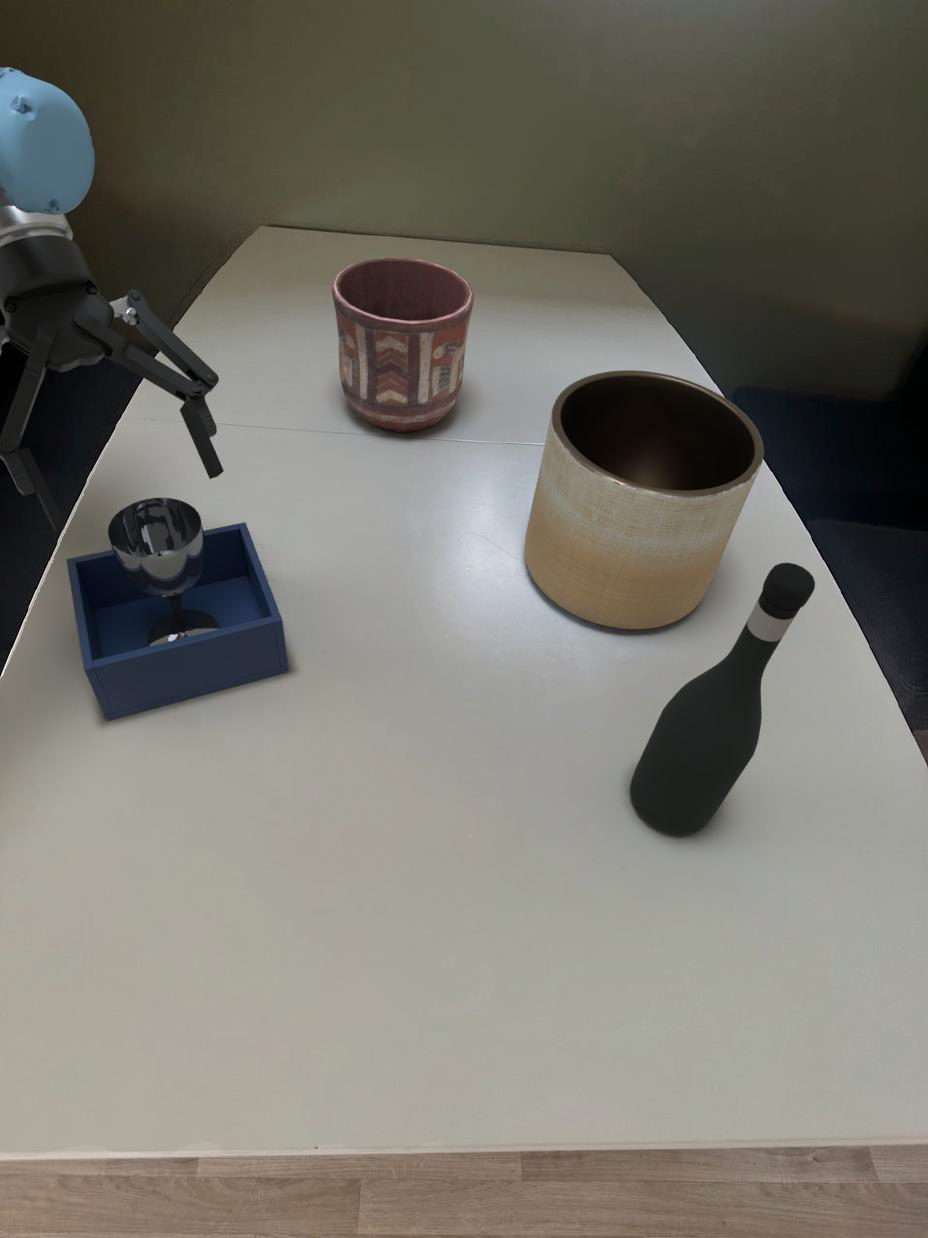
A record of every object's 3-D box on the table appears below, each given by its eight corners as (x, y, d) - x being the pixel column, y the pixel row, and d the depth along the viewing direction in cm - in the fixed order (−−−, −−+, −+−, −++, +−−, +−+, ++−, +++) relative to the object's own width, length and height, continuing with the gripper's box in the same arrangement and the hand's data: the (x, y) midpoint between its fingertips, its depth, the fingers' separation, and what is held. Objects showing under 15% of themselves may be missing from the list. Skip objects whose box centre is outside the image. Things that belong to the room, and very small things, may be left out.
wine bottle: (638, 751, 79) (743, 521, 56) (718, 780, 77) (857, 556, 55) (619, 819, 73) (725, 596, 51) (703, 852, 72) (851, 637, 50)
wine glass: (151, 674, 78) (114, 566, 67) (137, 617, 83) (101, 507, 72) (232, 653, 81) (210, 545, 70) (215, 599, 86) (191, 490, 75)
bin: (106, 721, 76) (83, 669, 70) (87, 613, 84) (65, 558, 78) (288, 671, 81) (282, 619, 76) (253, 575, 90) (245, 521, 84)
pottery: (353, 454, 106) (351, 328, 93) (325, 382, 117) (319, 259, 103) (478, 438, 111) (493, 315, 97) (440, 370, 122) (448, 251, 108)
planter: (743, 598, 94) (813, 460, 79) (594, 664, 86) (641, 523, 71) (627, 489, 106) (669, 351, 91) (487, 537, 97) (508, 393, 83)
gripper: (170, 243, 73) (263, 463, 77) (-139, 303, 62) (-13, 557, 66) (185, 204, 67) (286, 447, 70) (-159, 263, 55) (-17, 548, 59)
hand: (142, 501), depth 68 cm, fingers open, 13 cm apart
